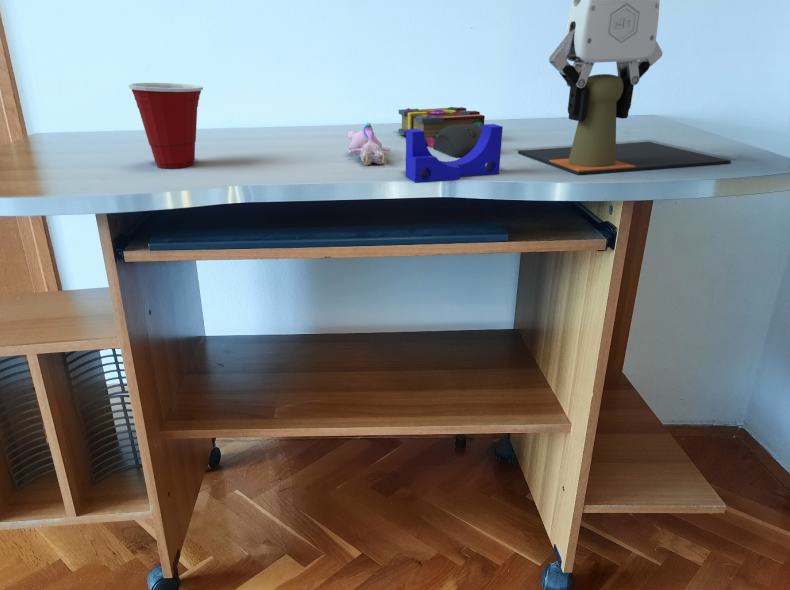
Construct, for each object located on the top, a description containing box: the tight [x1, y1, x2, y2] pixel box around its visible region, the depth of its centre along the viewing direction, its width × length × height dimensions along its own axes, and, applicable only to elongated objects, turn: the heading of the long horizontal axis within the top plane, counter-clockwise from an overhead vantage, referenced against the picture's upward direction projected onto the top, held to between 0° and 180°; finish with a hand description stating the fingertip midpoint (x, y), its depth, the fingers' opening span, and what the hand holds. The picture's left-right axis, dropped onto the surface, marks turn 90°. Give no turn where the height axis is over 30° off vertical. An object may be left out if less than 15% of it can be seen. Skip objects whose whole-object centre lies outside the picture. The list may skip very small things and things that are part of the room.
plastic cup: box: [128, 82, 204, 169], centre depth 97 cm, size 11×11×12 cm
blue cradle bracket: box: [405, 123, 504, 183], centre depth 84 cm, size 12×4×6 cm, turn 100°
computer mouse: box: [432, 124, 482, 159], centre depth 101 cm, size 6×11×4 cm, turn 12°
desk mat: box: [517, 141, 732, 176], centre depth 92 cm, size 22×18×1 cm
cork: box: [568, 73, 623, 167], centre depth 84 cm, size 6×6×11 cm
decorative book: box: [398, 106, 486, 148], centre depth 113 cm, size 11×16×5 cm
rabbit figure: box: [347, 122, 391, 167], centre depth 97 cm, size 6×6×15 cm
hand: (597, 117), depth 84 cm, fingers closed on cork, 5 cm apart
